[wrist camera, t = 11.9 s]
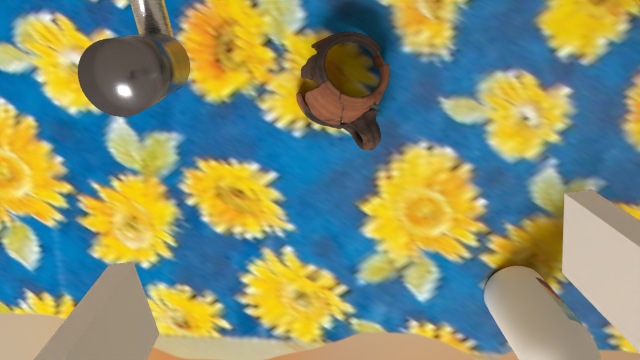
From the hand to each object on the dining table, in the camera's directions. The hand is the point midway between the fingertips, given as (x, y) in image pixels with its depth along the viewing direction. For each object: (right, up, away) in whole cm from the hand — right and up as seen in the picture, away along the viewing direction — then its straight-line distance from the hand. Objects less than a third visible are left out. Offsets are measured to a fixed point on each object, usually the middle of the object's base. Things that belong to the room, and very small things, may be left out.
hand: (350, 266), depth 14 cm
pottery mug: (+2, +12, +35) cm, 37 cm away
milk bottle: (+24, -11, +44) cm, 52 cm away
